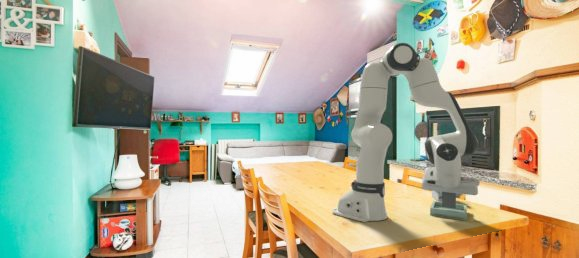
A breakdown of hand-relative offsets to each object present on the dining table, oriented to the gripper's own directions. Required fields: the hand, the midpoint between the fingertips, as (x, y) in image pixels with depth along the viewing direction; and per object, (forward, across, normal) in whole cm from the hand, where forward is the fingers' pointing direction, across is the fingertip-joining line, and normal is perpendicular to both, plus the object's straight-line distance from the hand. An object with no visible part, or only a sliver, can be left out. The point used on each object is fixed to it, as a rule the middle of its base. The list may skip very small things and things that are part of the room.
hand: (449, 195), depth 118 cm
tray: (+5, 0, +6) cm, 8 cm away
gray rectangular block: (+3, 0, +3) cm, 4 cm away
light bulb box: (+22, +4, -11) cm, 25 cm away
